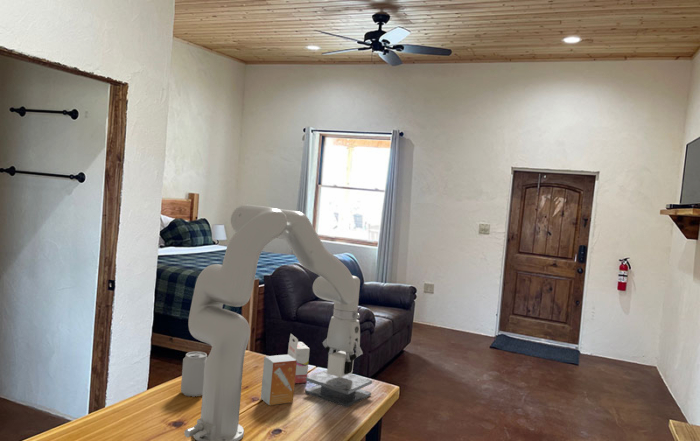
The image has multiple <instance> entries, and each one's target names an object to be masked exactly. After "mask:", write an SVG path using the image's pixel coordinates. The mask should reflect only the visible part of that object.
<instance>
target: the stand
mask: <svg viewBox="0 0 700 441" xmlns="http://www.w3.org/2000/svg"><path fill="white" fill-rule="evenodd" d="M306 381H307V382H310V383H312V384H316V385H314V386H312V387H309V388H306V389H305V390H304V394H307V395H310V396H312V397H316V398H318V399H320V400H324V401H326V402H330V403H333V404H335V405H337V406H341V407H345V408H349V407H350V406H352V405H355V404H356V403H359V402H360V400H361V401H363V400H365V399H367V398H369V397H371V396H372V392H371V391H367V390H364V389H363V388H364V387H365V388H366V387H367V386H369V385H371V384H373V380H372V379H369V378H366V377H362V376H359V375H357V374H353V373H350V374H347V375H345V376H342V377H337V376H334V375H331V374H328V373H327V369H325V370H323V371H320V372H317V373H314V374H312V375H309V376H307V377H306ZM370 395H371V396H370ZM368 396H369V397H368ZM366 397H367V398H366ZM364 398H365V399H364ZM362 399H363V400H362Z"/></svg>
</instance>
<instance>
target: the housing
mask: <svg viewBox="0 0 700 441" xmlns="http://www.w3.org/2000/svg"><path fill="white" fill-rule="evenodd" d="M327 360H328V361H327V369H326V370H327V373H328V374H331V375H334V376H337V377H342V376H345V375H347V374H345V373H344V369H345V362H346V361H347V357H346V352H344V351H340V350H337V352H335V353H332V354H329V356H328V358H327ZM354 361H355V360H353V363H354ZM353 369H354V364H353V365H352V371H351V373H348V374H353V372H354V370H353Z"/></svg>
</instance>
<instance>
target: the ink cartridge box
mask: <svg viewBox="0 0 700 441" xmlns="http://www.w3.org/2000/svg"><path fill="white" fill-rule="evenodd" d="M310 350H311V349H310V347H308V345H306V344H305V343H304V342H303V341H299V338H297V337H296V336H294V335H293V334H292V333H290V335H289V342H288V349H287V354H288V355H290V356H291V357H293V358H294V359H296V360H297V365H296V375H295V384H303V383H304V384H305V383H308V381H306V377H308V371H309V358H310Z"/></svg>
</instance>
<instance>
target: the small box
mask: <svg viewBox="0 0 700 441" xmlns="http://www.w3.org/2000/svg"><path fill="white" fill-rule="evenodd" d="M296 365H297V360H296V359H294V358H293V357H291V356H290V355H288V353H287V354H278V355H277V354H276V355H265V356H264V358H263V369H262V380H261V390H260V392H261V393H260V399H261V400H263V402H265V403H266V404H267V405H268V406H275V405H279V404H280V405H282V404H289V403H290V404H291V403H293V402H294V395H295V385H296V383H295V375H296Z"/></svg>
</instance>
